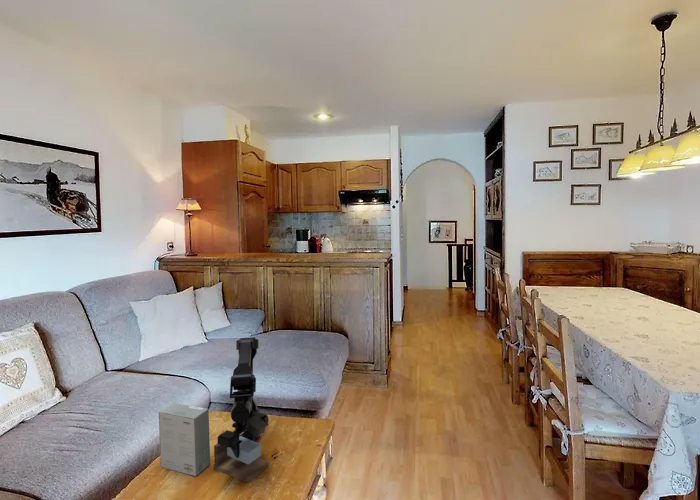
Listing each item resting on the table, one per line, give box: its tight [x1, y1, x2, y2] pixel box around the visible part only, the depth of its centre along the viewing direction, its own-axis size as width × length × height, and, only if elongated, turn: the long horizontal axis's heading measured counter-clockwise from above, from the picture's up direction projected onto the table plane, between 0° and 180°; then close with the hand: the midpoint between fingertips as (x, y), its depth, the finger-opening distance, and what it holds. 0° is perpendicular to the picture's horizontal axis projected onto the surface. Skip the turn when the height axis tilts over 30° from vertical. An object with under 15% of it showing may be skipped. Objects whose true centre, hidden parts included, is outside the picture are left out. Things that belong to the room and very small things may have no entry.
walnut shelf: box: [212, 442, 270, 483], centre depth 134 cm, size 16×10×8 cm, turn 63°
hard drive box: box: [158, 403, 211, 477], centre depth 135 cm, size 16×8×20 cm, turn 71°
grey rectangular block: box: [227, 436, 262, 465], centre depth 133 cm, size 10×6×4 cm, turn 59°
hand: (244, 452), depth 133 cm, fingers closed on grey rectangular block, 6 cm apart
